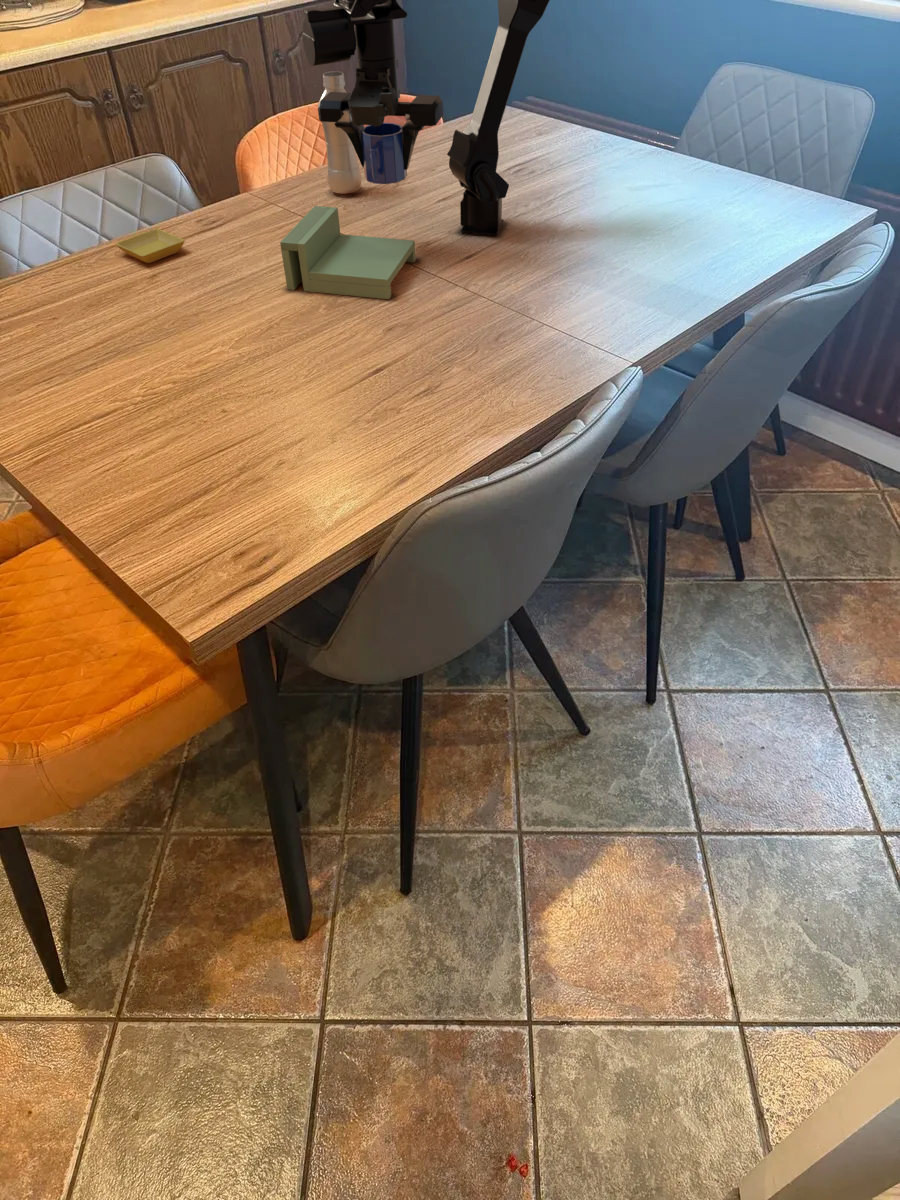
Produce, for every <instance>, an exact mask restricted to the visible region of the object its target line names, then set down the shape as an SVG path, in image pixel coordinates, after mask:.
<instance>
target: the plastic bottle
mask: <svg viewBox="0 0 900 1200" xmlns="http://www.w3.org/2000/svg"><path fill="white" fill-rule="evenodd" d="M322 80H323V83H322V85H323V88H324V91H323V93H322V95H321V96H320V99H319V101H318V103H319V102H320V101H321V100H322V99H323V98H324V97H325V96H326V95H327V94H328V93H329V92H346V93H348V92H347V91H346V89H345V86H346V81H345V74H344V72H342V71H337V70H336V71H335V70H334V71H333V70H332V71H327V72H324V73H322ZM335 123H336V122H321V127H322V129H323V135H324V140H325V148H326V181H327V185H328V187H329V189H330V190H331V191H332V192H333V193H335V194H344V195H347V194H353V193H355V192H358V191H359V190H360V188H361V186H362V180H363V179H362V172H361V168H360V165H359V159H358V156H357V153H356V151H355V149H354V146H353V144H352V142H351V140H350V139H349V137H348V135H347V134H346V132H344V131H343V130H342V129H341V128H337V127H336V126H335Z"/></svg>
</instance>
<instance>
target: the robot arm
mask: <svg viewBox="0 0 900 1200" xmlns="http://www.w3.org/2000/svg"><path fill="white" fill-rule="evenodd" d="M550 1H551V0H497V7H498V11H497V12H498V26H497V29H496V33H495V37H494V39H493V43H492V46H491V49H490V53H489V57H488V60H487V65H486V67H485V70H484V74H483V78H482V81H481V83H480V89H479V91H478V95H477V98H476V102H475V105H474V108H473V111H472V116H471V119H470V122H469V123H468V125H467V126H466V127H465V129H463V131H462V132H461V131H459V130H457V129H455V130H454V132H453V135H452V142H451V145H450V148H449V150H448V152H447V153H446V155H447V156H448V157H449V160H448V167H449V169H450V171H451V174H452V176H454V178H456V179H457V180H458V182H459V185H460V186H461V187H462V188H464V189H465V190H464V192H463V193H462V197H463V198H462V199H461V201H460V203H459V209H460V213H459V215H460V217H459V220H460V226H461V228H460V233H461V234H468V235H478V236H479V235H480V236H490V237H497V236H498V235H499V232H500V231H501V228H502V227H503V225H504V223H505V220H504V219H503V218H502V215H503V199H505V198H506V197H507V193H508V192H509V187H510V185H509V183H508V182H507V181H506V179H504V178H503V177H502V176H501V175H500V174H499V173H498V172H497V168H498V164H499V163H498V162H499V157H500V154H499V152H500V151H499V130H500V127H501V123H502V120H503V117H504V114H505V110H506V107H507V104H508V101H509V98H510V95H511V91H512V88H513V85H514V82H515V78H516V75H517V72H518V68H519V65H520V62H521V59H522V55H523V52H524V49H525V46H526V43H527V39H528V36H529V35H530V33H531V32H532V30H533V29H535V27H536V25H537V24H538V23H539V21H541V19H542V18H543V16H544V14H545V12H546V10H547V7H548V6H549V3H550ZM332 5H333V6H330V7H322V8H315V7H309V8H304V9H303V14H304V15H303V16H304V20H303V23H302V33H301V40H302V46H303V49H304V53H305V57H306V60H307V62H308V64H309V65H310V66H311V67H315V66H316V67H317V66H323V65H328V64H335V63H342V62H349V61H350V60H351V57H352V56H355V54H356V58H357V67H356V68H355V79H356V80H355V84H354V88H352V91H351V92H347V91H346V92H347V93H346V92H329V93H328V94H327V95H326V96H325V97H324V98H323V99H322V100H321V101H320V100H319V101H320V102H319V101H318V105H317V112H318V113H317V114H318V121H319V122H321V123H322V122H336V123H335V126H336V127H337V128H341V129H342V130H343V131H344V132H346V134H347V135H348V137H349V139H350V140H351V142H352V144H353V146H354V149H355V151H356V155H357V159H358V161H359V163H360V164H361V165H360V166H361V167H362V168H363V169H364V163H363V152H362V142H361V132H360V131H361V129H362V128H363V127H365V126H368V125H372V126H374V127H377V126H380V125H382V124H383V123H385V117H389V116H390V117H404V118H405V120H406V121H405V123H404V124H403V125H402V126H403V127H402V131H403V135H404V152H403V160H404V169H405V170H407V171H408V169H409V167H410V163H411V159H412V156H413V152H414V148H415V144H416V140H417V138H418V135H419V132H421V131H422V130H423V129H424V127H434V126H436V125H437V124H438V123H439V122H440V120H441V119H442V118H443V117H444V102H443V99H442V98H441V97H440V96H439V95H433V94H432V95H431V94H417V95H416V96H415V97H414V99H412V101H400V100H399V99H400V98H401V90H400V89H399V87H398V71H397V70H398V68H399V59H397V57H396V56H397V55H396V41H395V39H396V37H395V26H394V20H401V19H406V18H407V17H408V13H407V11H405V10H404V9H403V8H402V7H401V6H400V4H399V3H398V1H397V0H334V1H333V4H332ZM355 52H356V53H355Z"/></svg>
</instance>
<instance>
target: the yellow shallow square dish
mask: <svg viewBox="0 0 900 1200" xmlns="http://www.w3.org/2000/svg"><path fill="white" fill-rule="evenodd" d="M185 241H186V240H185V239H184V238H182V237H179V236H177V235H175V234H172V233H169V232H168V231H166V230H163V229H161V228H154V229H150V230H148V231H145V232H142V233H138V234H137V235H134V236H132V237H129V238H126V239H122V240H120V241H117V242H116V243H115V246H117V247H118V249H120V250H122V252H124V253H125V254H127V255H128V256H131V257H133V258H135V259H137V260H139V261H142V262H143V263H146V264H151V263H153V262H156V261H158V260H162V259H163V258H166V257H169V256H171V255H174V254H176V253H178V252H179V251H180V250H181V249H182V247H183V246H184V244H185Z"/></svg>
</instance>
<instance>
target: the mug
mask: <svg viewBox="0 0 900 1200" xmlns="http://www.w3.org/2000/svg"><path fill="white" fill-rule="evenodd" d="M403 126H404V125H402V124H398V123H395V122H383V124H382V125H380V126H377V127H374V126H372V125H364V127H363V128H362V129H361V131H360V132H361V142H362V152H363V163H364V168H363V172H364V178H365V180H366V181H367V182H368V183H372V184H375V185H390V184H396V183H399V182H402V181H404V180H405V179H406V178H407V177H408V169H407V170H405V169H404V160H403V152H404V135H403V131H402V127H403Z"/></svg>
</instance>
